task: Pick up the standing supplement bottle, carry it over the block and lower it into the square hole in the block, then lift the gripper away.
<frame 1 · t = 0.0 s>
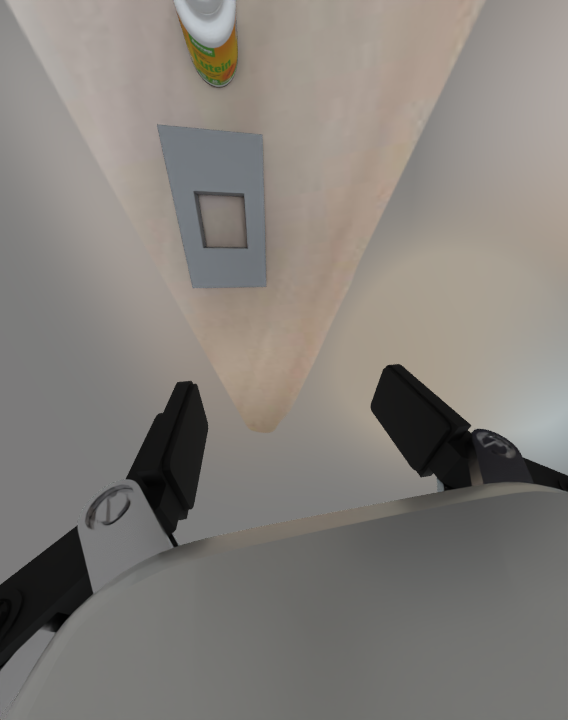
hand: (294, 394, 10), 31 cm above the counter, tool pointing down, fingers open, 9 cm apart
socket block: (224, 222, 31), on the counter
supplement bottle: (213, 52, 23), on the counter
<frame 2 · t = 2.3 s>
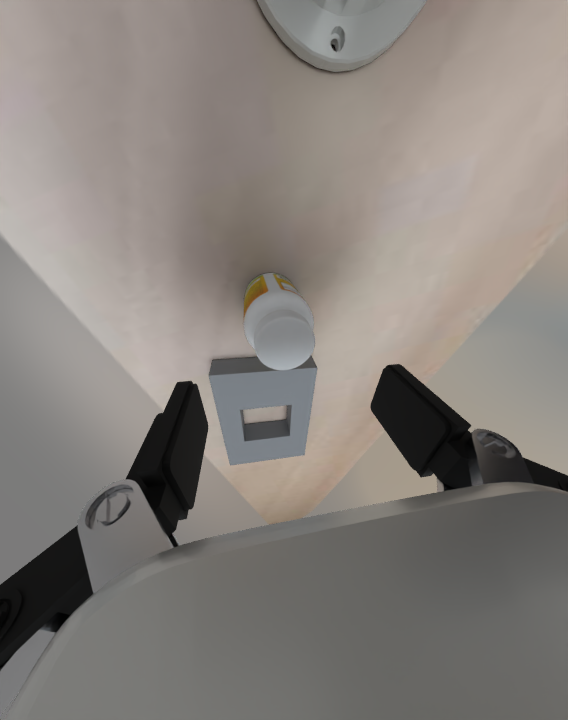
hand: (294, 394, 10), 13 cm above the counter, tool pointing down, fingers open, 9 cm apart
socket block: (265, 407, 30), on the counter
supplement bottle: (270, 299, 21), on the counter
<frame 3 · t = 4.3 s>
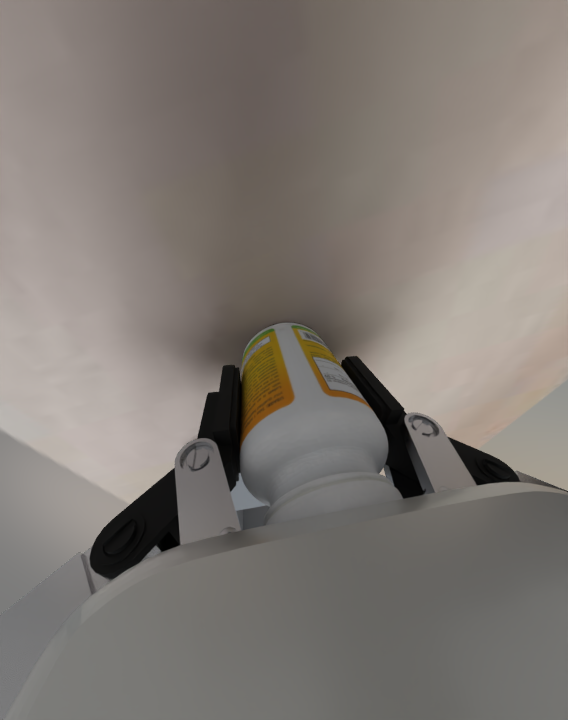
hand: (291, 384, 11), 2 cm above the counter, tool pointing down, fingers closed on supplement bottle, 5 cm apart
socket block: (271, 485, 21), on the counter
supplement bottle: (283, 358, 13), on the counter, touching gripper
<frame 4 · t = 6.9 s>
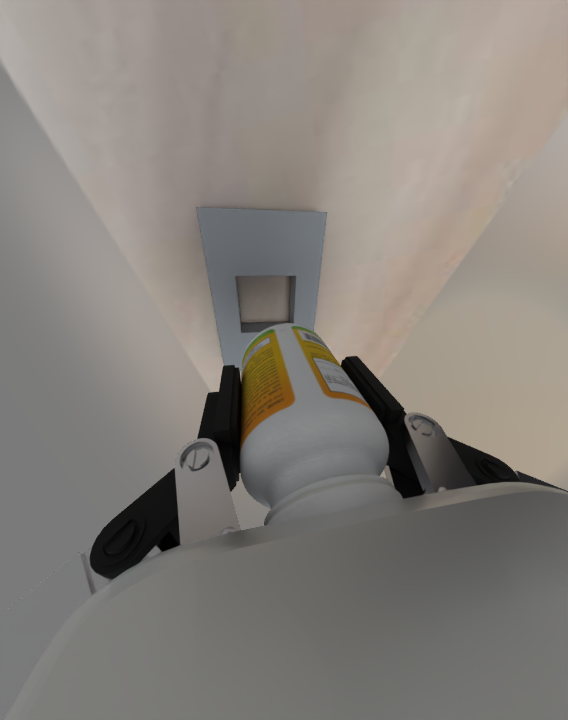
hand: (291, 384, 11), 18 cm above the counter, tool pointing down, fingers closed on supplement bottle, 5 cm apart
socket block: (265, 298, 26), on the counter
supplement bottle: (283, 358, 13), point 15 cm above the counter, touching gripper
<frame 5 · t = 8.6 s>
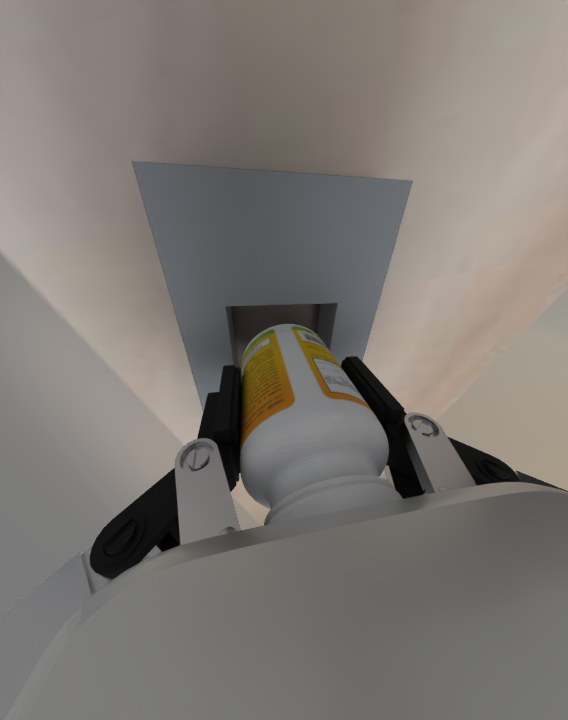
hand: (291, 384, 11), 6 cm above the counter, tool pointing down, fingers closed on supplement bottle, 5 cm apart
socket block: (277, 334, 16), on the counter
supplement bottle: (283, 359, 13), point 4 cm above the counter, touching gripper
when the fingers open (4 cm above the counter, at t = 9.8 s): supplement bottle drops 1 cm, resting in socket block.
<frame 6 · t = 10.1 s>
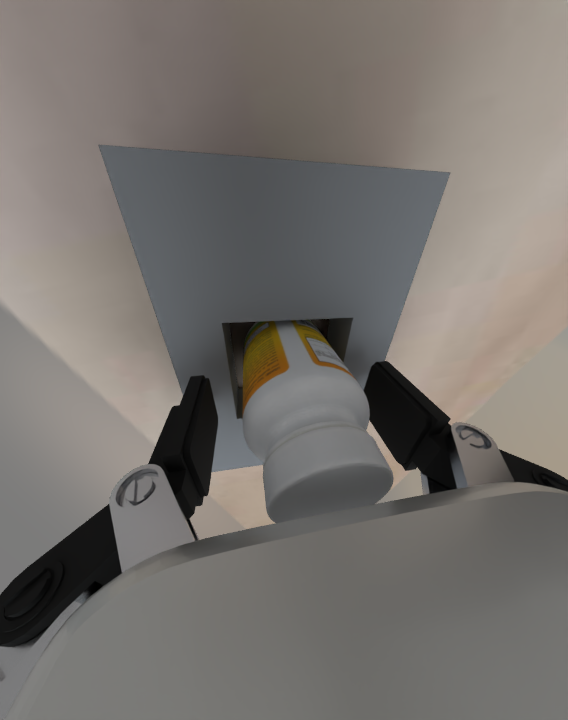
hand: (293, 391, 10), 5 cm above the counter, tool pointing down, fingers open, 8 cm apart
socket block: (280, 348, 14), on the counter
supplement bottle: (281, 345, 14), resting in socket block
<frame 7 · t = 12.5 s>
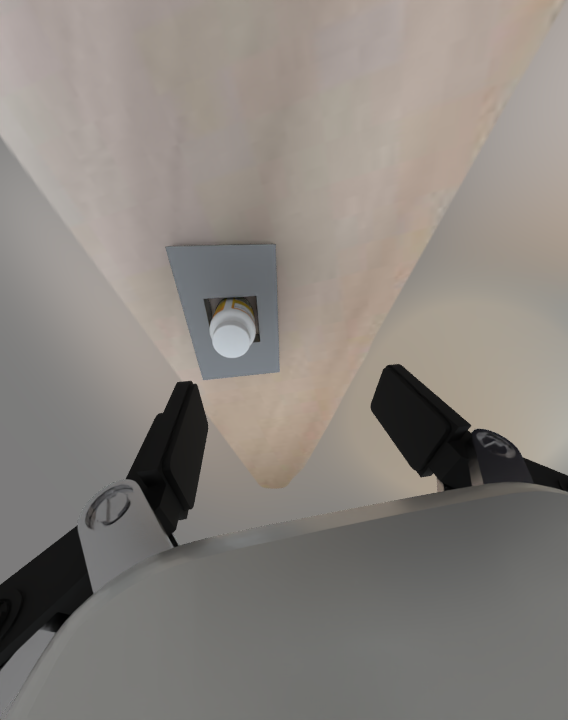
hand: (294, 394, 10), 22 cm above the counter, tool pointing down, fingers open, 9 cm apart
socket block: (235, 314, 29), on the counter
supplement bottle: (235, 313, 30), resting in socket block
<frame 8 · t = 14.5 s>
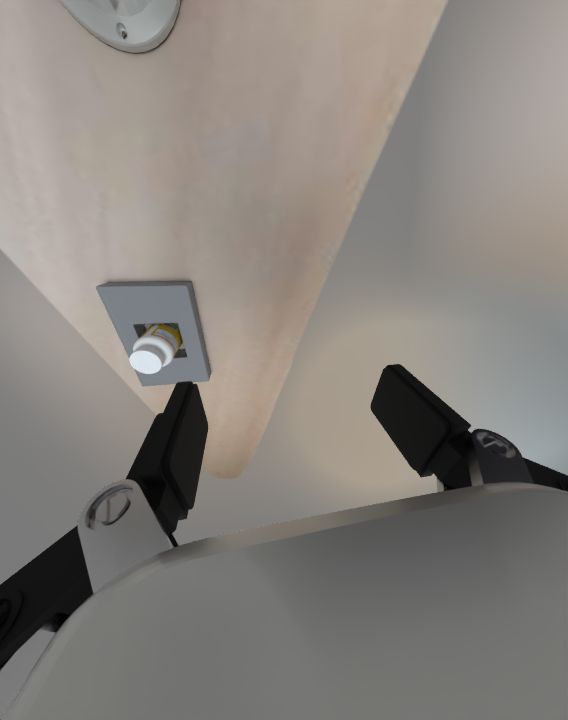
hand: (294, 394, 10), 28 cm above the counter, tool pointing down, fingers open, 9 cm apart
socket block: (167, 334, 36), on the counter
supplement bottle: (168, 332, 36), resting in socket block
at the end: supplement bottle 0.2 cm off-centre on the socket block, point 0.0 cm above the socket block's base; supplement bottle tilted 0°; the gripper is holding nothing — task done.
